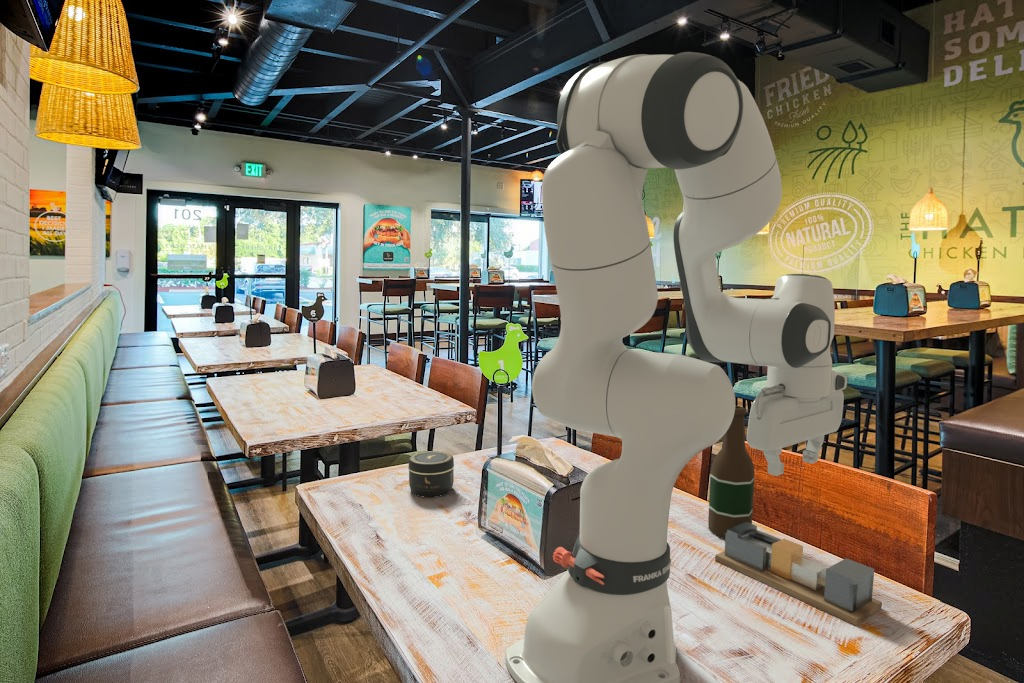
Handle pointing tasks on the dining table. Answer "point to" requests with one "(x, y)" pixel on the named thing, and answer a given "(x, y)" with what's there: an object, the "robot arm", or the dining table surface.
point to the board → (802, 591)
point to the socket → (849, 585)
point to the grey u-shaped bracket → (747, 545)
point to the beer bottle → (731, 480)
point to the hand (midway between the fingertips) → (793, 468)
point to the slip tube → (792, 563)
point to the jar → (431, 473)
